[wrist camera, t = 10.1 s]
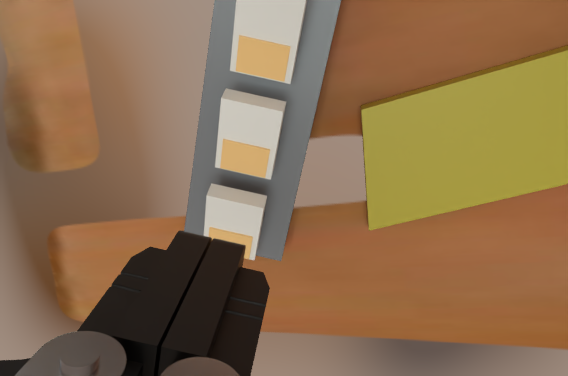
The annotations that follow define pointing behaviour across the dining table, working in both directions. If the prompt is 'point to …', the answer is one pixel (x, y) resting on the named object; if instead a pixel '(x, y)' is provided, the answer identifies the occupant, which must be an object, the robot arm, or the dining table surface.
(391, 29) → the dining table surface
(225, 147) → the block
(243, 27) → the block
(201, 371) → the robot arm
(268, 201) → the power strip
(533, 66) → the flat olive board
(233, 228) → the block
